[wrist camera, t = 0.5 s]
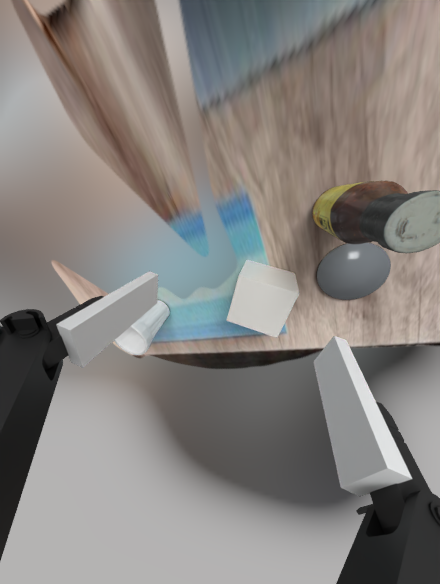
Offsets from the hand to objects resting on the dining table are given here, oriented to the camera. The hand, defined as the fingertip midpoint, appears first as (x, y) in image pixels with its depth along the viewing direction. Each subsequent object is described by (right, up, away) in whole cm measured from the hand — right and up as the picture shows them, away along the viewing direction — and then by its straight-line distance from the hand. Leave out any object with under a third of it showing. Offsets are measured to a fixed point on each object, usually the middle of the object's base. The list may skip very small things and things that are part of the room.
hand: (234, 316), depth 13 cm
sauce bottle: (+18, +16, +16) cm, 28 cm away
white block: (+8, +3, +25) cm, 27 cm away
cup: (-18, -3, +38) cm, 42 cm away
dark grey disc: (+23, +6, +19) cm, 30 cm away
